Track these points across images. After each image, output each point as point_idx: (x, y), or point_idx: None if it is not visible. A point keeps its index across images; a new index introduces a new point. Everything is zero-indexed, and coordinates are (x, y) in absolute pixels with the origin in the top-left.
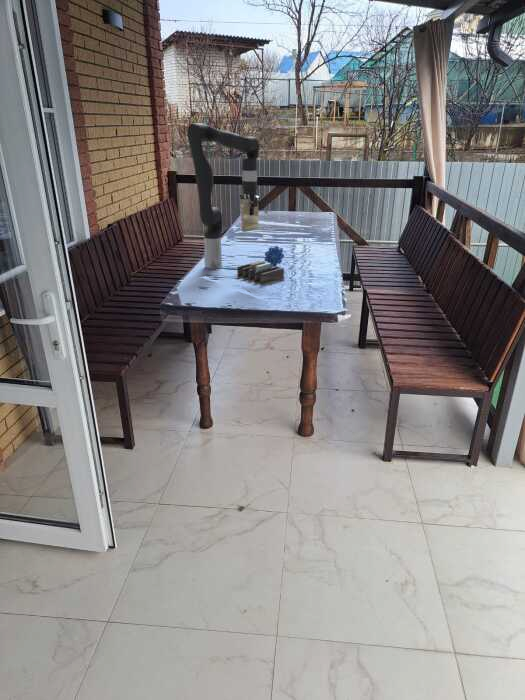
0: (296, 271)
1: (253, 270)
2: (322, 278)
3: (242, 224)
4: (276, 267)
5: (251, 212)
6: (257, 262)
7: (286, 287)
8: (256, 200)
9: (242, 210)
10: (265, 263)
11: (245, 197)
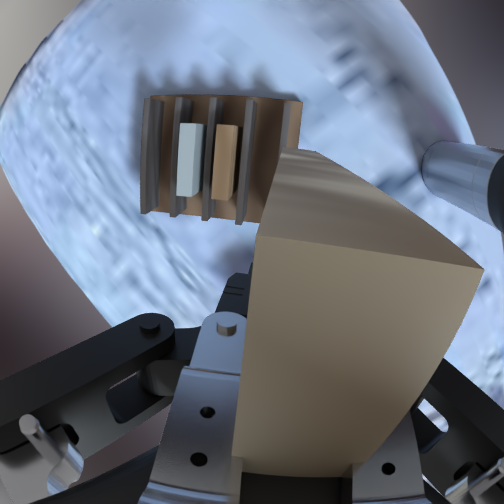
0: (194, 298)
1: (209, 118)
2: (107, 284)
3: (307, 153)
4: (170, 208)
5: (233, 285)
6: (226, 167)
7: (110, 156)
8: (14, 390)
9: (321, 168)
10: (191, 179)
11: (394, 494)
